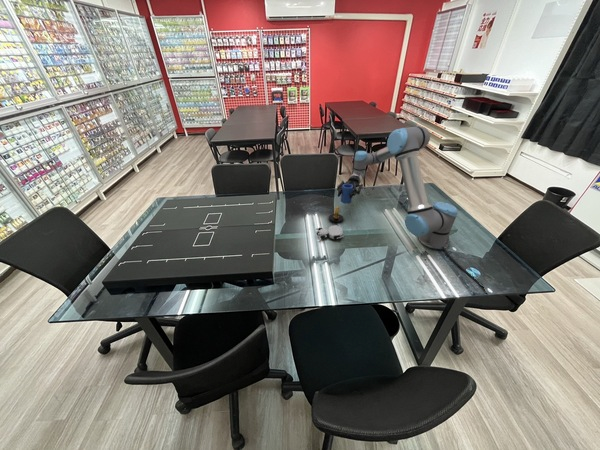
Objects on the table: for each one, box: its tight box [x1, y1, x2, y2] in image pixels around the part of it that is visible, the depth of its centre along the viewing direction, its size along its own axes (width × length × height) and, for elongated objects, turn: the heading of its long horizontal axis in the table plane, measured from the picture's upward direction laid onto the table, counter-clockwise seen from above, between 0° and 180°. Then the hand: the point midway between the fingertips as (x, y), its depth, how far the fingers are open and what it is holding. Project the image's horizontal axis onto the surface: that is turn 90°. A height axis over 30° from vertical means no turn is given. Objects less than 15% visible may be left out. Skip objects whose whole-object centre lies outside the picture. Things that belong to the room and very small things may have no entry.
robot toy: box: [315, 223, 344, 241], centre depth 143 cm, size 12×4×15 cm
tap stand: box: [328, 205, 344, 225], centre depth 156 cm, size 9×9×10 cm
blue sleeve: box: [340, 184, 353, 205], centre depth 147 cm, size 6×6×10 cm
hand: (344, 195), depth 142 cm, fingers closed on blue sleeve, 6 cm apart
